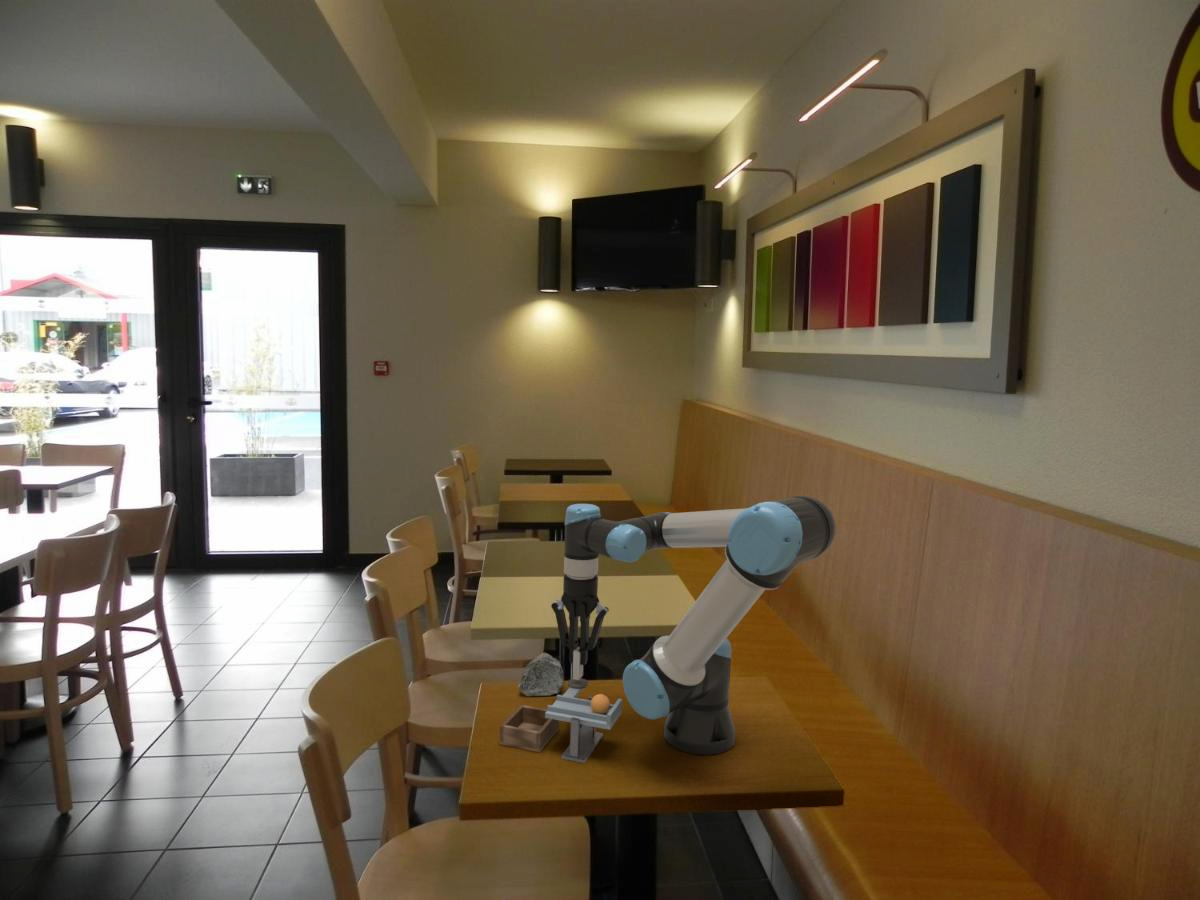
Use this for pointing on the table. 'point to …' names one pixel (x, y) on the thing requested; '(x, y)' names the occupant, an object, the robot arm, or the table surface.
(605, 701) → the ball
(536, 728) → the tray
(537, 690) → the stone
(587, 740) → the pivot stand
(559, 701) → the seesaw
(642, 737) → the table surface
